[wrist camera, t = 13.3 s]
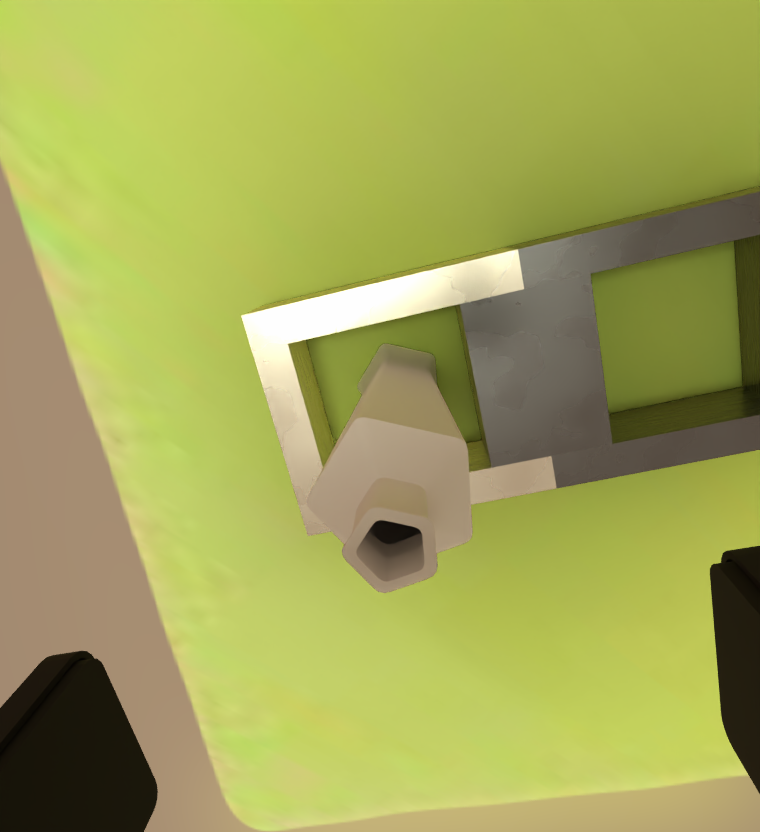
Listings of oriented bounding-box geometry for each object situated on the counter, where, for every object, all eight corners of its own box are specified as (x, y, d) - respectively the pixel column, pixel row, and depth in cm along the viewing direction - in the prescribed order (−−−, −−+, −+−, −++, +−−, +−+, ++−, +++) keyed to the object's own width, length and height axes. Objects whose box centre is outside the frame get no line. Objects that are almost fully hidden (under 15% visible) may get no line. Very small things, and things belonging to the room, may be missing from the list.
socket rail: (769, 183, 24) (827, 175, 21) (778, 410, 27) (832, 435, 23) (262, 305, 26) (241, 315, 23) (319, 501, 29) (308, 535, 26)
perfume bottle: (344, 339, 27) (270, 462, 12) (439, 330, 26) (478, 447, 12) (355, 433, 28) (300, 642, 14) (446, 426, 28) (487, 632, 13)
